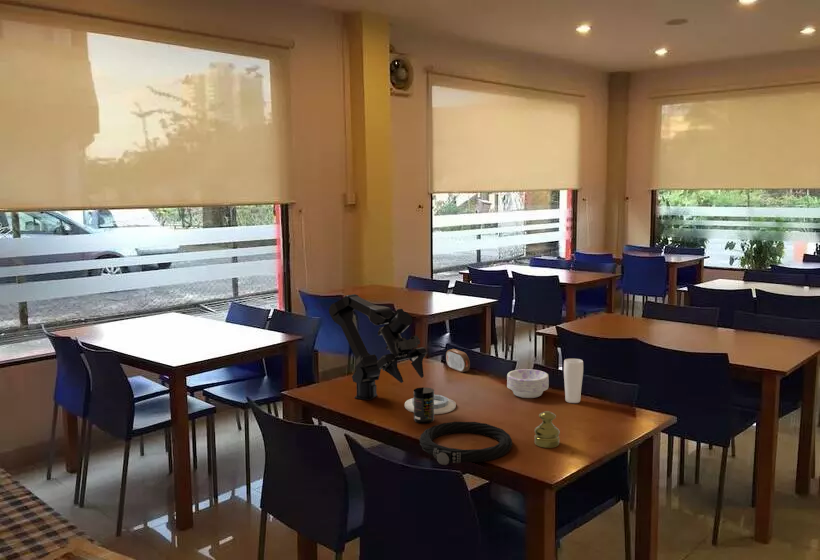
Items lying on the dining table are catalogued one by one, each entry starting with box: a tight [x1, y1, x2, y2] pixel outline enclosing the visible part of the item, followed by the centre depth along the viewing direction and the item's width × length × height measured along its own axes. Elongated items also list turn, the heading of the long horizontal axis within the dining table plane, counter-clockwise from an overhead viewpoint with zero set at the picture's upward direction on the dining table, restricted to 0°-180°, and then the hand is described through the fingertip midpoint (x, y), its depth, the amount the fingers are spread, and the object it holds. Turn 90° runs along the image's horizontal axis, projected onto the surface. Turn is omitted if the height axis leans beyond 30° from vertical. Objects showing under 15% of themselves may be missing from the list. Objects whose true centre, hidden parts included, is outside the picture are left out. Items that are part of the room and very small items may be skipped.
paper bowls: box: [506, 368, 550, 399], centre depth 255 cm, size 15×15×8 cm
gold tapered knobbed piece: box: [533, 410, 560, 449], centre depth 205 cm, size 7×7×10 cm
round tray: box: [404, 393, 457, 415], centre depth 243 cm, size 18×18×2 cm
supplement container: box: [413, 387, 435, 425], centre depth 227 cm, size 7×7×10 cm
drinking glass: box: [563, 358, 584, 404], centre depth 246 cm, size 7×7×15 cm
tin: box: [445, 348, 471, 373], centre depth 292 cm, size 15×3×8 cm, turn 30°
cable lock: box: [418, 421, 513, 466], centre depth 204 cm, size 28×4×30 cm
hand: (412, 379), depth 233 cm, fingers open, 9 cm apart
